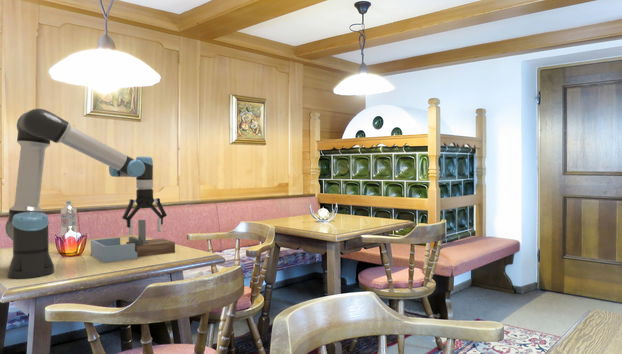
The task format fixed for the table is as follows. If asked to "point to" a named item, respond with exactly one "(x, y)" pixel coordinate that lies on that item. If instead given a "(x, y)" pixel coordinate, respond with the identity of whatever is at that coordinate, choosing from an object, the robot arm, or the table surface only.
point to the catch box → (112, 250)
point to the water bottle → (68, 218)
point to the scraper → (140, 234)
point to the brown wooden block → (155, 247)
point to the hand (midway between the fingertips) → (145, 232)
